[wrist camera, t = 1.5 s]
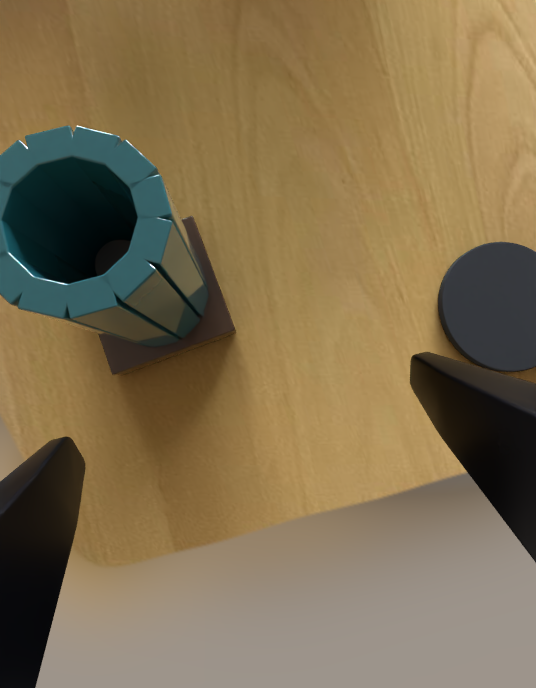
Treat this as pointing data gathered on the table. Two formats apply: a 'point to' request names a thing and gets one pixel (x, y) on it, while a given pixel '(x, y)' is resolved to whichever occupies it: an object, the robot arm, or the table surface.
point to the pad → (492, 306)
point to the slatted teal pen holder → (96, 238)
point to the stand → (207, 330)
